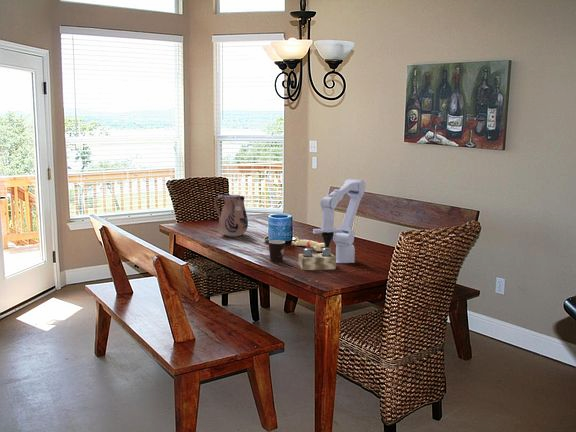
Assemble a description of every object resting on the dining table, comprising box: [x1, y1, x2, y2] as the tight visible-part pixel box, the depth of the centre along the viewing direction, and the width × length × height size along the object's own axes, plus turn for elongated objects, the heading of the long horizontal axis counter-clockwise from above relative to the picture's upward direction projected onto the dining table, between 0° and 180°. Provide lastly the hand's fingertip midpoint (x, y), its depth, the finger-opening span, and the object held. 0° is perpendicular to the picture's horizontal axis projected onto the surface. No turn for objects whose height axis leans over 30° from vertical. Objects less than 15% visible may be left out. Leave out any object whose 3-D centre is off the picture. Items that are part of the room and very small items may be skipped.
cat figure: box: [290, 232, 326, 252], centre depth 336 cm, size 10×9×25 cm
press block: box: [298, 252, 337, 271], centre depth 296 cm, size 17×9×6 cm, turn 102°
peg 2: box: [321, 247, 332, 257], centre depth 296 cm, size 4×4×6 cm
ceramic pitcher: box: [213, 194, 249, 238], centre depth 364 cm, size 18×21×25 cm
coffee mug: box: [268, 239, 286, 263], centre depth 307 cm, size 12×9×10 cm
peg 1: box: [303, 247, 314, 257], centre depth 294 cm, size 4×4×6 cm
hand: (326, 247), depth 295 cm, fingers closed
